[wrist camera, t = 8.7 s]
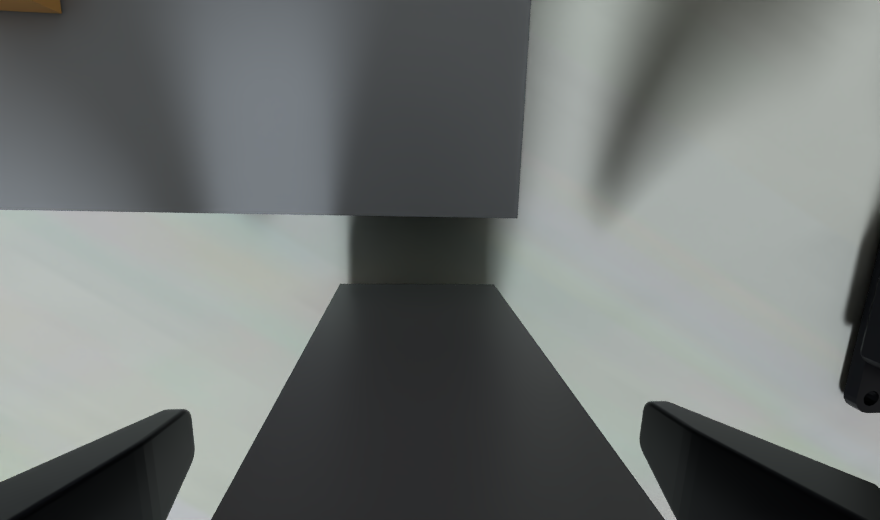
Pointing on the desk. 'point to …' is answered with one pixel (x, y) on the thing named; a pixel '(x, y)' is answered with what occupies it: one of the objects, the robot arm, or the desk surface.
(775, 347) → the desk surface
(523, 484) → the grey box
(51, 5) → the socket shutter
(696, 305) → the desk surface
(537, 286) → the desk surface
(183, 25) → the socket board
